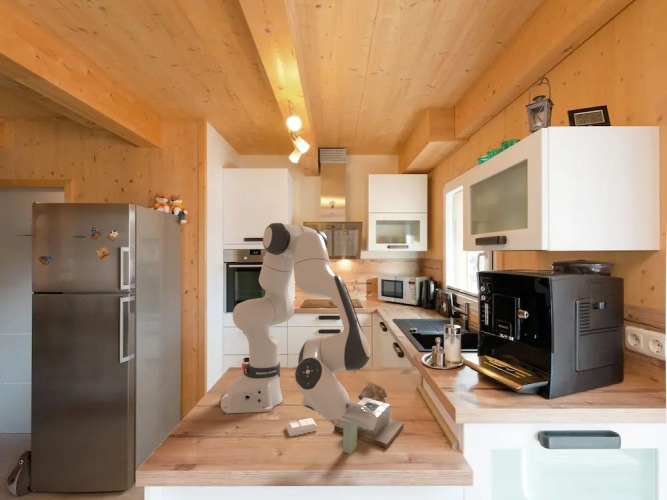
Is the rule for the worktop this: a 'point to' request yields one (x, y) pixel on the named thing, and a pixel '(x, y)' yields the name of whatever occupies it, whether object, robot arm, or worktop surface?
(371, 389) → the wooden fragment
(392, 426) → the walnut board
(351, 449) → the sage slat
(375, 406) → the grey slotted block
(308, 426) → the soap bar
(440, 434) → the worktop surface
